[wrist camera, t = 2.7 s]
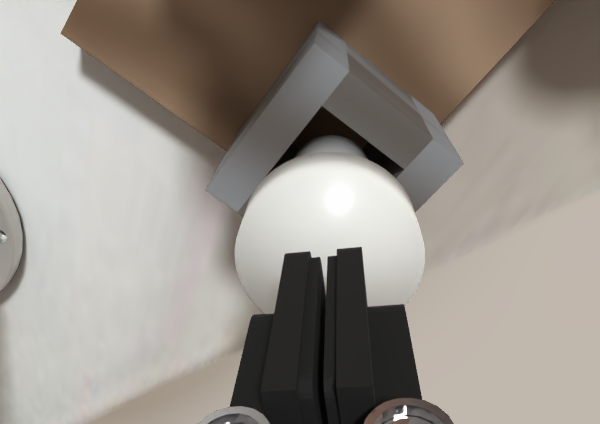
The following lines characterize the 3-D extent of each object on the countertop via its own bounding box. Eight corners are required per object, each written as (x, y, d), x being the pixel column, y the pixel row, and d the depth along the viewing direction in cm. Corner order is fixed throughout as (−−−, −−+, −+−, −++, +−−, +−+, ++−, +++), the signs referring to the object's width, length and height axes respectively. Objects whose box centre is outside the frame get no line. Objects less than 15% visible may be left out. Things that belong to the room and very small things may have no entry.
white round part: (340, 254, 20) (342, 363, 14) (237, 182, 19) (199, 272, 13) (428, 162, 18) (466, 249, 13) (318, 77, 17) (311, 133, 12)
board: (340, 213, 27) (341, 305, 20) (81, 27, 24) (-28, 58, 17) (575, -46, 21) (695, -45, 14) (274, -346, 18) (233, -545, 11)
